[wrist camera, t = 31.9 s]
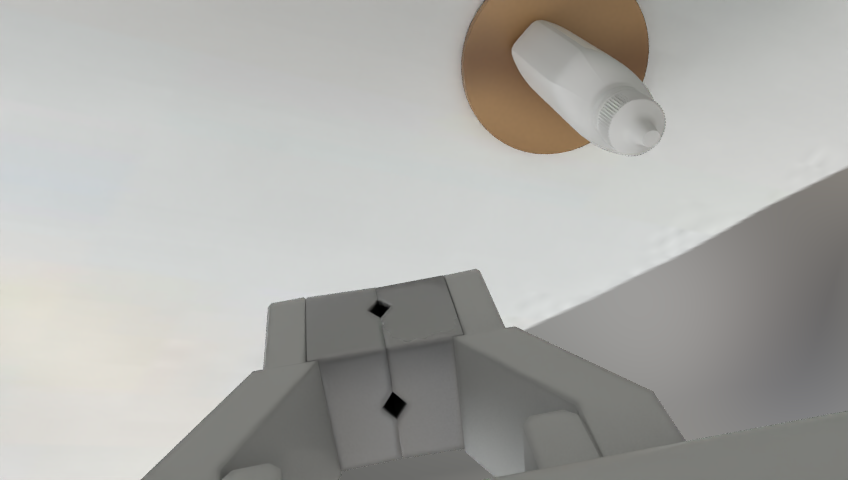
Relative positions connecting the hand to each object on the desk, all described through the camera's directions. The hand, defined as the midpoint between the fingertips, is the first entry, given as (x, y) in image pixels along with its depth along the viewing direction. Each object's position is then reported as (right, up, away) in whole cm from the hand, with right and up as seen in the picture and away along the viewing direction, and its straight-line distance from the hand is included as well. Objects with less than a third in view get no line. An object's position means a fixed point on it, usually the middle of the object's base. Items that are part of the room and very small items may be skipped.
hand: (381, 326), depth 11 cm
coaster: (+8, +11, +29) cm, 31 cm away
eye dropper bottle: (+8, +10, +28) cm, 31 cm away
